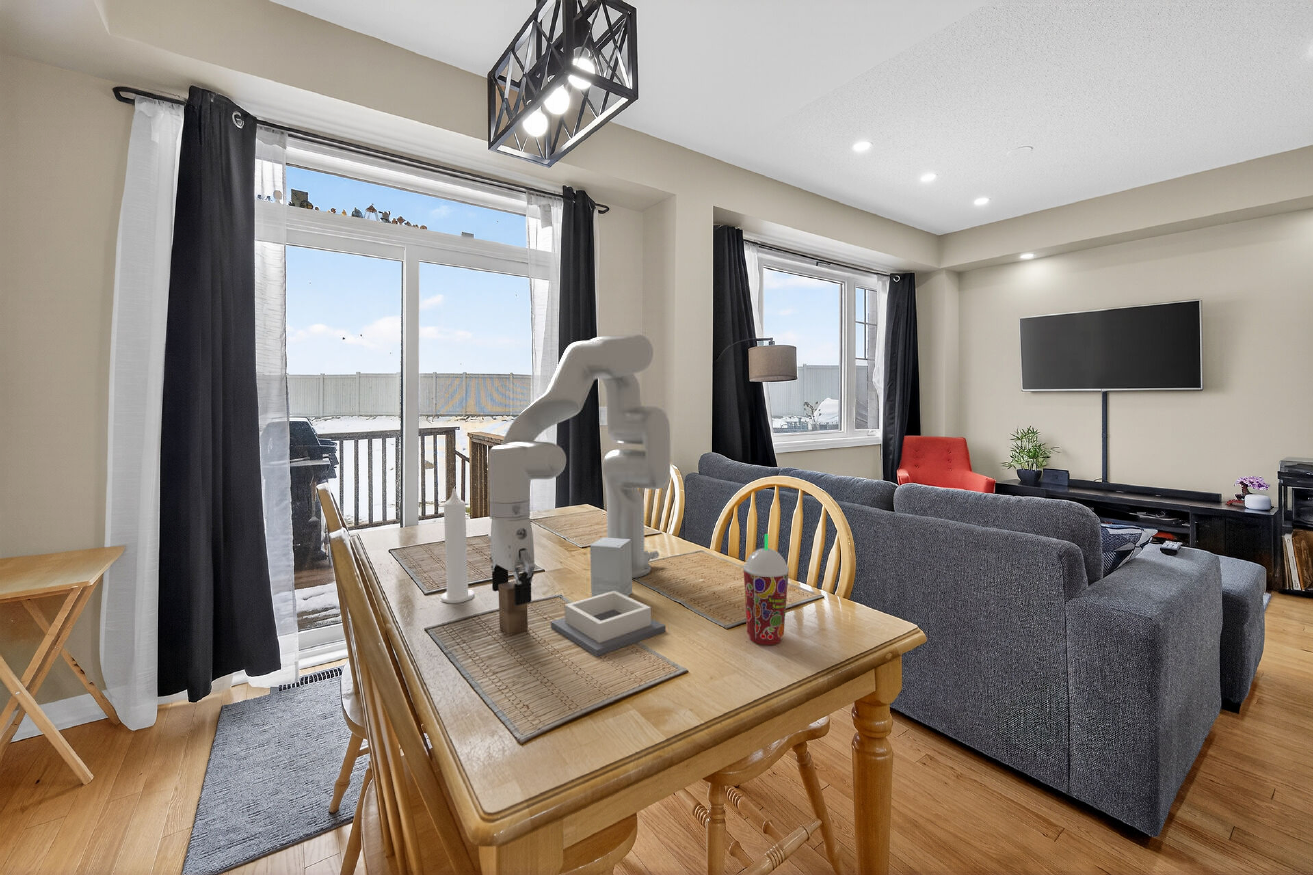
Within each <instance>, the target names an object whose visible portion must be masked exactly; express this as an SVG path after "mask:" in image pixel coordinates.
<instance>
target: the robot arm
mask: <svg viewBox="0 0 1313 875" xmlns="http://www.w3.org/2000/svg"><path fill="white" fill-rule="evenodd" d="M653 349H654V348H653V345H652V343H651V341H650V340H649V339H648V338H647V337H646V336H645V335H643V334H623V335H622V334H621V335H603V336H596V337H594V338H591V339H589V340H579V341H575V342H572V343H571V344H569V345H568V346H567V347H566V348H565V350H564V353H563V355H562V356H561V359H560V361H559V363H558V365H557V367H556V370H555V372H554V374H553V376H552V378H551V380H550V382H549V384H548V386H547V388H546V390H545V391H544V393H543V394H542V395H541V396H540V397H539V398H537V399H536V400H535V401H534V402H532V403H531V404H529V405H528V407H526V408H525V409H524V410H522V412H520V413H519V415H517V416H516V418H515V419H514V420H513V421H512V423H511V424H510V426H509V428H508V430H507V431H506V433H505V436H504V437H503V439H502V442H501V444H499V445H494V446H493V447H491V448H490V449H489V451H488V452H489V453H488V480H489V481H488V484H489V485H488V486H489V488H488V489H489V492H488V493H489V519H490V520H491V528H490V544H489V547H488V548H489V553H490V558H489V559H490V561H491V565H490V568H491V581H492V582H491V583H492V584H491V586H492V587H491V588H492V589H491V590H492V591H494V592H499V588H498V584H502V583H506V582H509V572H510V573H512V574H513V577H514V581H515V580H516V583H517V584H514V603H515V605H521V604H525V603H527V604H529V603H531V601H532V582H533V577H534V575H535V574H534V571H535V568H536V564H535V545H534V533H533V527H532V522H531V487H530V486H531V481H532V480H551V479H554V478H557V477H558V476H559V475H560V474H562V472H564V470H565V468H566V464H567V456H566V453H565V451H564V450H563V448H562V447H560V445H558V444H555V443H553V442H549V441H537V440H536V439H537V438H538V436H540V434H542V433H543V432H544V431H545V430H547V429H549V428H551V427H552V426H555V425H557V424H559V423H562V422H564V421H567V420H569V419H571V418H573V417H575V416H576V415H578V414H579V413H580V412H581V410H583V407H584V404H585V402H586V400H587V397H588V395H589V392H590V390H591V389H592V386H593V384H594V381H596V380H598V379H601V380H602V382H603V386H604V387H605V392H606V393H605V394H606V422H607V424H606V425H607V426H606V427H607V433H608V437H609V439H610V440H611V441H613V442H614V443H618V444H625V445H642V446H644V449H635V448H633V449H631V448H615V449H612V450H610V451H609V452H608V453H607V454H605V456H604V458H603V460H602V464H601V469H602V476H603V481H604V486H605V493H606V494H605V495H606V538H619V539H631V556H632V579H635V578H640V577H643V576H644V577H645V576H646V575H647V574H649V573H650V572H651V565H650V564H649V563H648V562H650V560H654V559H658V558H659V557H660V553H659V552H658V550H654V551H653V550H652V551H650V552H649V551H648V550H645V502H644V499H643V495H642V493H641V492H640V491H639V489H646V490H647V489H648V490H660V489H663V488H664V487H665V486H666V485H667V484H668V483H669V480H670V476H671V474H670V473H671V427H670V421H669V418H668V416H667V414H666V412H665V411H664V410H663V409H662V408H660V407H657V406H652V405H651V406H648V405H647V406H646V405H644V406H643V405H642V401H641V399H642V398H641V387H640V383H639V380H638V378H637V376H636V375H635V374H637V373H641V372H643V371H645V370H646V369H647V368H649V367H650V365H651V363H652V360H653V358H654V350H653ZM521 572H522V573H521ZM520 573H521V575H520Z"/></svg>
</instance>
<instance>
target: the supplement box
mask: <svg viewBox="0 0 1313 875" xmlns="http://www.w3.org/2000/svg"><path fill="white" fill-rule="evenodd" d="M589 548H590V550H589V551H590V552H589V554H590V581H591V582H590V585H591V586H590V588H591V597H594V596H597V595H601V594H604V593H608V592H611V591H617V592H619V593H621V594H623V595H625V596H627V597H629V596H630V595H631V594H632V593H633V578H632V556H631V539H619V538H607V536H606V537H605V536H603V537H601V538H600V539H598V540H596V541H595V542H593V543H592V544H590V545H589Z"/></svg>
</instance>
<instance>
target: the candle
mask: <svg viewBox="0 0 1313 875" xmlns="http://www.w3.org/2000/svg"><path fill="white" fill-rule="evenodd" d="M466 519H467V516H466V501H464V500H462V499H461V498H460V497H459V496H458V494H457V490H456V488H452V491H451V495H450V498H449V499H447V500H446V501H445V502H444V503H443V521H444V525H443V526H444V546H445V547H444V548H445V549H444V550H445V551H444V552H445V572H446V578H445V579H446V591H445V592H444V593H442V594H441V596H440V600H441V601H442V602H443V603H446V604H458V603H459V604H460V603H464V602H467V601H470V600H471V599H473V598H474V597H475V592H474V590H472V589H470V588H469V581H468V580H469V577H468V552H467V551H468V548H467V544H468V543H467V520H466Z"/></svg>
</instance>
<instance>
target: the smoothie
mask: <svg viewBox="0 0 1313 875" xmlns="http://www.w3.org/2000/svg"><path fill="white" fill-rule="evenodd" d="M742 569H743V580H744V581H743V582H744V583H743V585H744V600H745V619H746V621H745V622H746V623H745V624H746V632H747V634H748V636H749V639H750V640H751V642H753V643H755V644H758V645H761V646H773V645H777V644H779V643H780V642H781V640H782V638H783V636H784V634H785V623H786V622H785V621H786V610H787V599H788V598H787V597H788V584H789V574H790V568H789V567H788V565H787V562H786V560H785V559H784V557H783V556H782V555H781V553H779V552H778V551H776V550H775V549H772V548H769V534H768V533H765V534H764V547H762V548H757V549H756V550H754V551H753V552H752V553H751V554H750V555H749V556H748V557H747V560H746V563H744V564H743V568H742Z"/></svg>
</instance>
